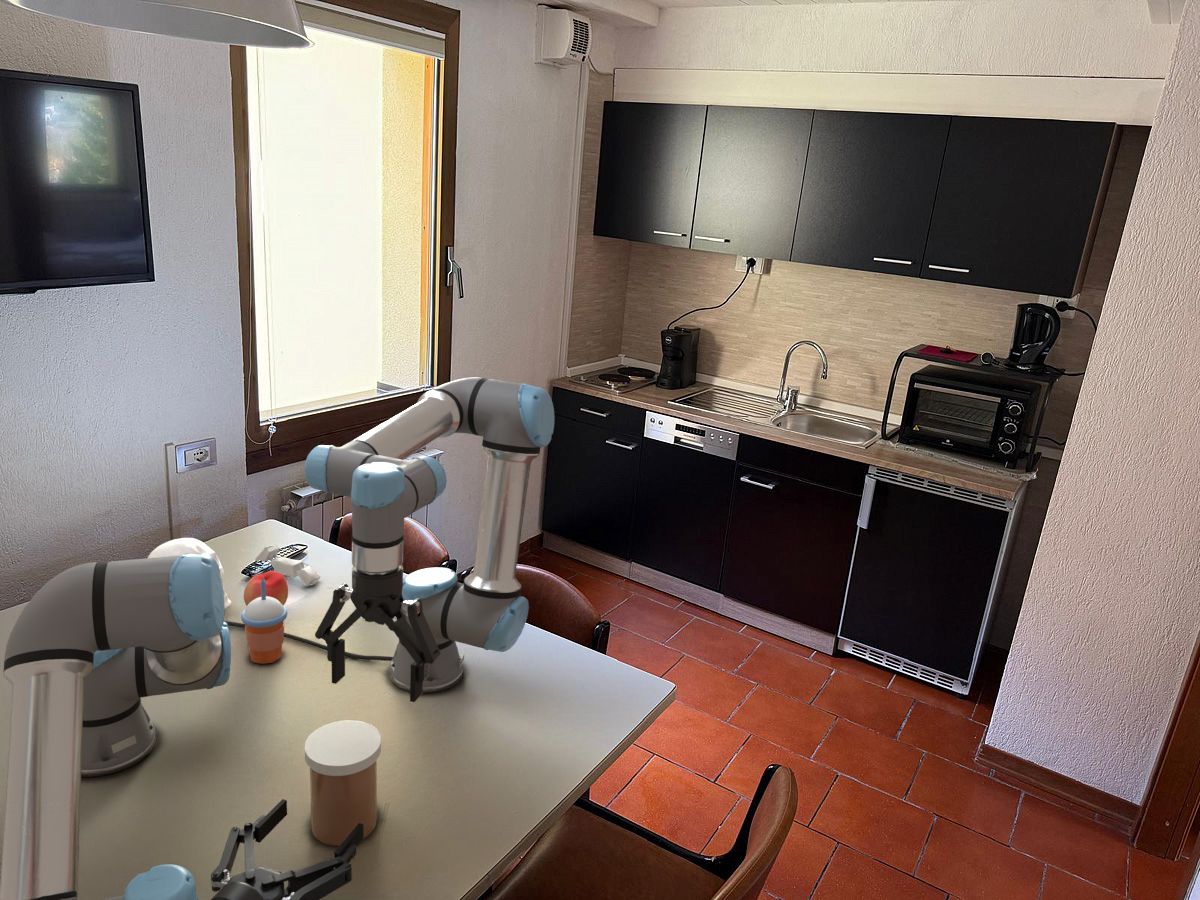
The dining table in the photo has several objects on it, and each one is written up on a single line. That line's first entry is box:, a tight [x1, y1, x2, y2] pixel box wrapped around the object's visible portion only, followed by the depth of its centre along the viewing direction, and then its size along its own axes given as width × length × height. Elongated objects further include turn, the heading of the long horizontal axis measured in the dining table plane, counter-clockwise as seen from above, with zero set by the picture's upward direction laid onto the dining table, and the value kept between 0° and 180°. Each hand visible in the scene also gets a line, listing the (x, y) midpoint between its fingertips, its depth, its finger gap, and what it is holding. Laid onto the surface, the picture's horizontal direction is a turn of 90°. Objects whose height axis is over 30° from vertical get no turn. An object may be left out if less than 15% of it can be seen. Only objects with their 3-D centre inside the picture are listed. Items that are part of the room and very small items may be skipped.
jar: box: [309, 759, 378, 847], centre depth 137 cm, size 10×10×15 cm
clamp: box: [254, 544, 322, 587], centre depth 219 cm, size 20×4×7 cm, turn 62°
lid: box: [304, 719, 382, 776], centre depth 135 cm, size 12×12×2 cm
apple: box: [243, 570, 289, 607], centre depth 199 cm, size 10×10×10 cm
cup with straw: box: [240, 580, 288, 665], centre depth 181 cm, size 9×9×18 cm
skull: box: [147, 537, 232, 610], centre depth 201 cm, size 13×22×16 cm, turn 73°
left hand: (322, 818), depth 132 cm, fingers open, 13 cm apart
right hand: (376, 688), depth 135 cm, fingers open, 13 cm apart
